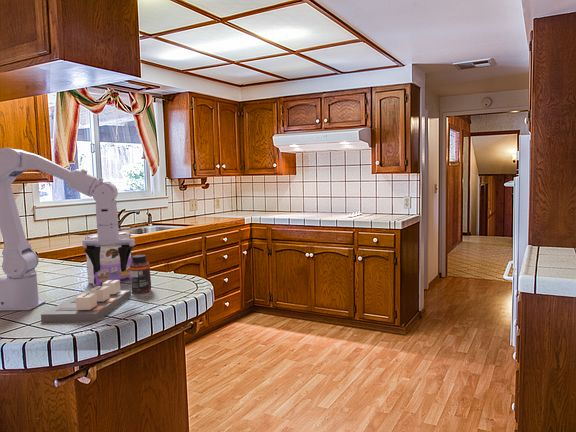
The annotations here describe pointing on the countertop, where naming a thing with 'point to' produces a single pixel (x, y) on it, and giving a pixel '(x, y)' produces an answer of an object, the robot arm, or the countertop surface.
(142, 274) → the supplement bottle
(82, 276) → the countertop surface
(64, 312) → the panel
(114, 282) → the knob
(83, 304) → the slotted white cube
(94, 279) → the candy box
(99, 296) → the knob
